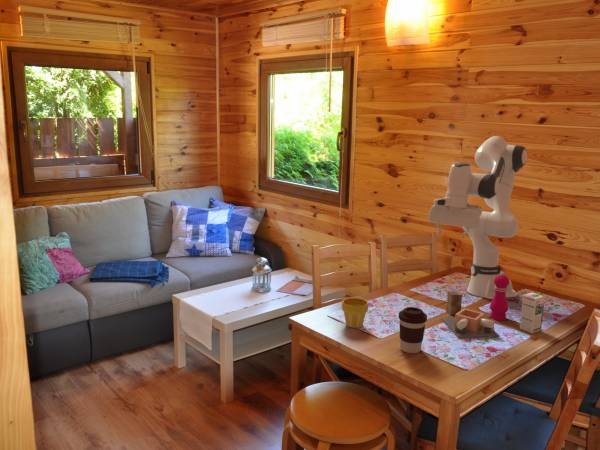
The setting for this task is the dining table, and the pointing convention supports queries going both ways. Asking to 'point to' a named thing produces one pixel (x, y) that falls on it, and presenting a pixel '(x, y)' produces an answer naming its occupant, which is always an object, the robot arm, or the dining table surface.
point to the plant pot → (354, 311)
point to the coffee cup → (412, 329)
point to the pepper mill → (499, 298)
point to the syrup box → (532, 312)
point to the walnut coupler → (454, 302)
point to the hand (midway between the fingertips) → (451, 236)
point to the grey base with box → (470, 325)
